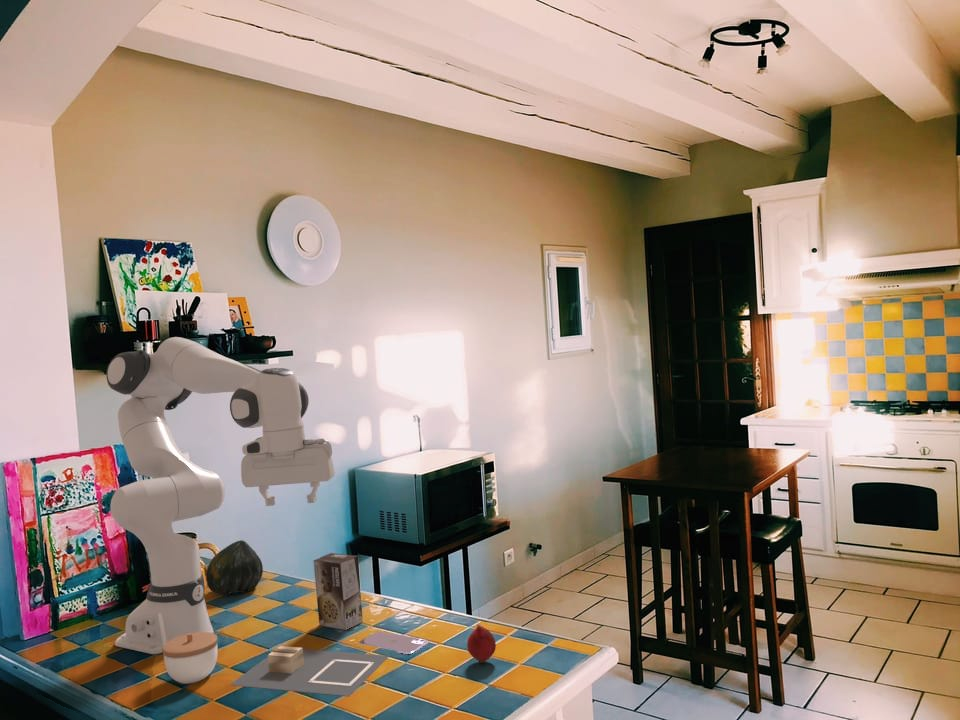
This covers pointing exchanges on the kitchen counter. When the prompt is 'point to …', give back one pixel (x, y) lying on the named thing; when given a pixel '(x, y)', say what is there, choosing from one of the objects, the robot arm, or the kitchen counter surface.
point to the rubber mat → (316, 673)
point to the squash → (234, 569)
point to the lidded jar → (191, 656)
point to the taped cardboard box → (285, 659)
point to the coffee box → (338, 591)
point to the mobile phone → (394, 642)
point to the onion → (481, 644)
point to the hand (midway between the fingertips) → (291, 503)
